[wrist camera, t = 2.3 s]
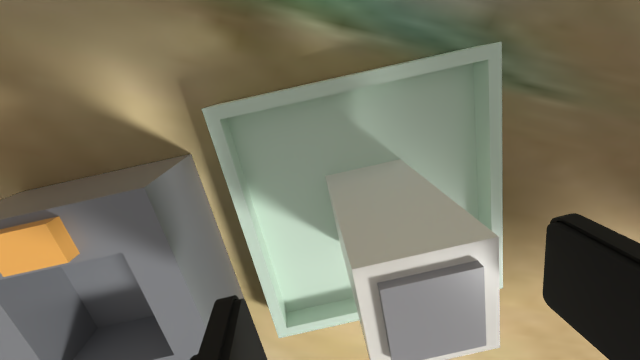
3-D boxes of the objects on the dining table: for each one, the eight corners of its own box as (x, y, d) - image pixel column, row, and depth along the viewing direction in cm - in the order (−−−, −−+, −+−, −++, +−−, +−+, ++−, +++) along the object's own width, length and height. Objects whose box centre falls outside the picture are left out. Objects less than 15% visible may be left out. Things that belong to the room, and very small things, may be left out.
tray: (475, 46, 15) (501, 41, 13) (482, 267, 19) (502, 288, 17) (213, 104, 15) (201, 108, 13) (280, 312, 19) (278, 338, 17)
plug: (400, 159, 15) (506, 242, 8) (408, 226, 17) (506, 355, 9) (325, 175, 15) (354, 276, 8) (339, 241, 17) (376, 385, 9)
